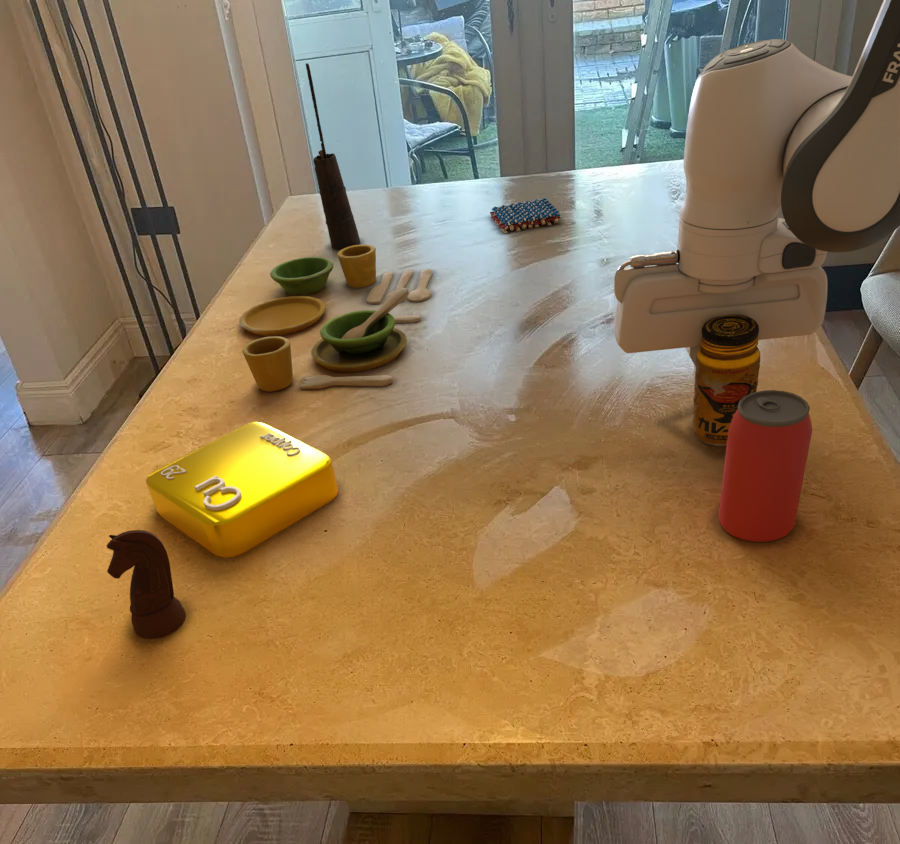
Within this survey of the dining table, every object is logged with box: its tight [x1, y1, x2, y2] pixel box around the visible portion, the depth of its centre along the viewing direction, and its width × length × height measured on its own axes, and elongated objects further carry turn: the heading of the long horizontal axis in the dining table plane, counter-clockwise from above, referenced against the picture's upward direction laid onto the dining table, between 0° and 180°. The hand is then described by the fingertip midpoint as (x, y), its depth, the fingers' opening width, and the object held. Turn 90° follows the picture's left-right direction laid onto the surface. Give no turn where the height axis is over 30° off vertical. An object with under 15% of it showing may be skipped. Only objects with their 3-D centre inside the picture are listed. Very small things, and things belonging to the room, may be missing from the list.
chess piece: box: [106, 529, 187, 640], centre depth 73 cm, size 5×5×10 cm
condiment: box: [692, 315, 761, 447], centre depth 86 cm, size 7×8×12 cm
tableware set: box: [238, 244, 433, 392], centre depth 120 cm, size 41×28×6 cm
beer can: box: [718, 389, 813, 543], centre depth 73 cm, size 7×7×12 cm
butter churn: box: [305, 62, 361, 251], centre depth 141 cm, size 9×10×28 cm
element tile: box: [145, 421, 339, 559], centre depth 88 cm, size 15×15×5 cm
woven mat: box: [489, 197, 561, 234], centre depth 147 cm, size 10×11×2 cm
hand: (710, 380), depth 89 cm, fingers closed
